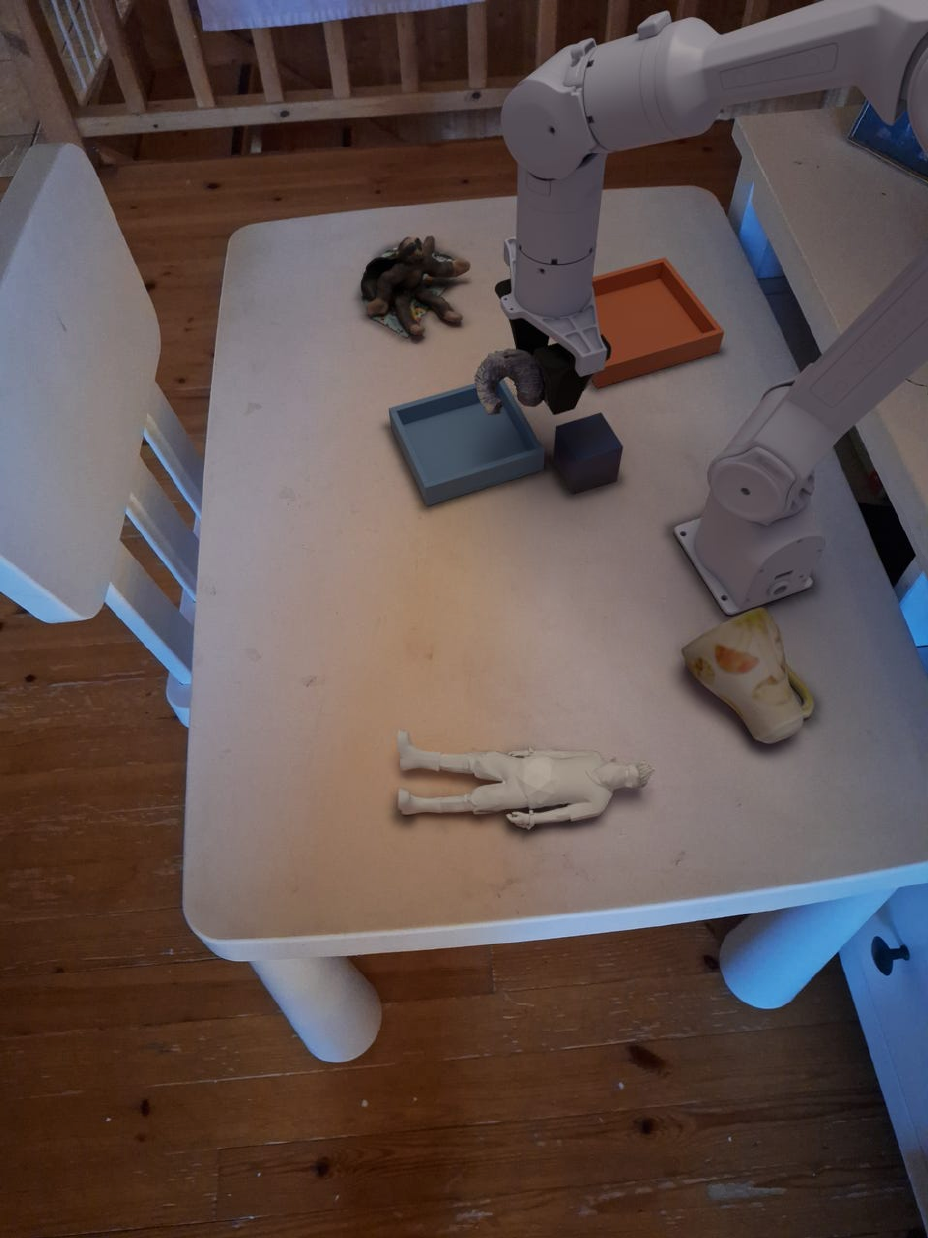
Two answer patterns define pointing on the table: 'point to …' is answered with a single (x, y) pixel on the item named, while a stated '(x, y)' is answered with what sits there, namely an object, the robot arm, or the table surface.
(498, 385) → the blue tray
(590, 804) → the figurine
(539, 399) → the grey curved piece
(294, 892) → the table surface
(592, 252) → the robot arm
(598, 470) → the blue block
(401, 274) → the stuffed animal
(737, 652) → the mug
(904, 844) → the table surface
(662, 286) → the terracotta tray
